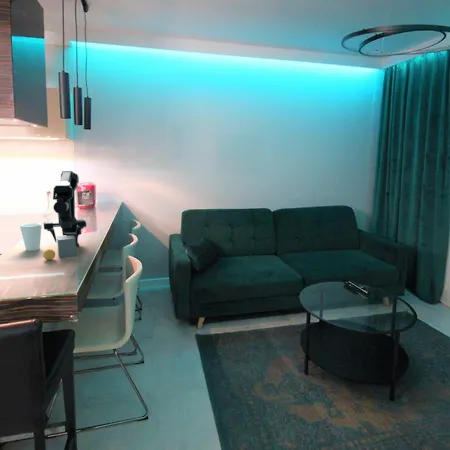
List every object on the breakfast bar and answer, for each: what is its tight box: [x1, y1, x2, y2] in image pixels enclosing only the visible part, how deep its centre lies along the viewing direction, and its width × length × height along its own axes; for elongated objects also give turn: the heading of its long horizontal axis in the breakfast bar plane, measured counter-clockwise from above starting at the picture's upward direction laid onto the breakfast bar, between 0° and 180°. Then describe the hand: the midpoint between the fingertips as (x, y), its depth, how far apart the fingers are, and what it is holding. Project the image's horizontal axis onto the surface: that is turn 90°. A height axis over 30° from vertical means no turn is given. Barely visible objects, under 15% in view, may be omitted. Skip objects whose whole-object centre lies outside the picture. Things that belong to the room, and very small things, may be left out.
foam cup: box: [19, 222, 43, 252], centre depth 177 cm, size 10×9×13 cm
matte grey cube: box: [56, 235, 77, 258], centre depth 169 cm, size 8×8×9 cm
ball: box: [43, 248, 56, 261], centre depth 161 cm, size 5×5×5 cm
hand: (66, 241), depth 169 cm, fingers open, 9 cm apart
